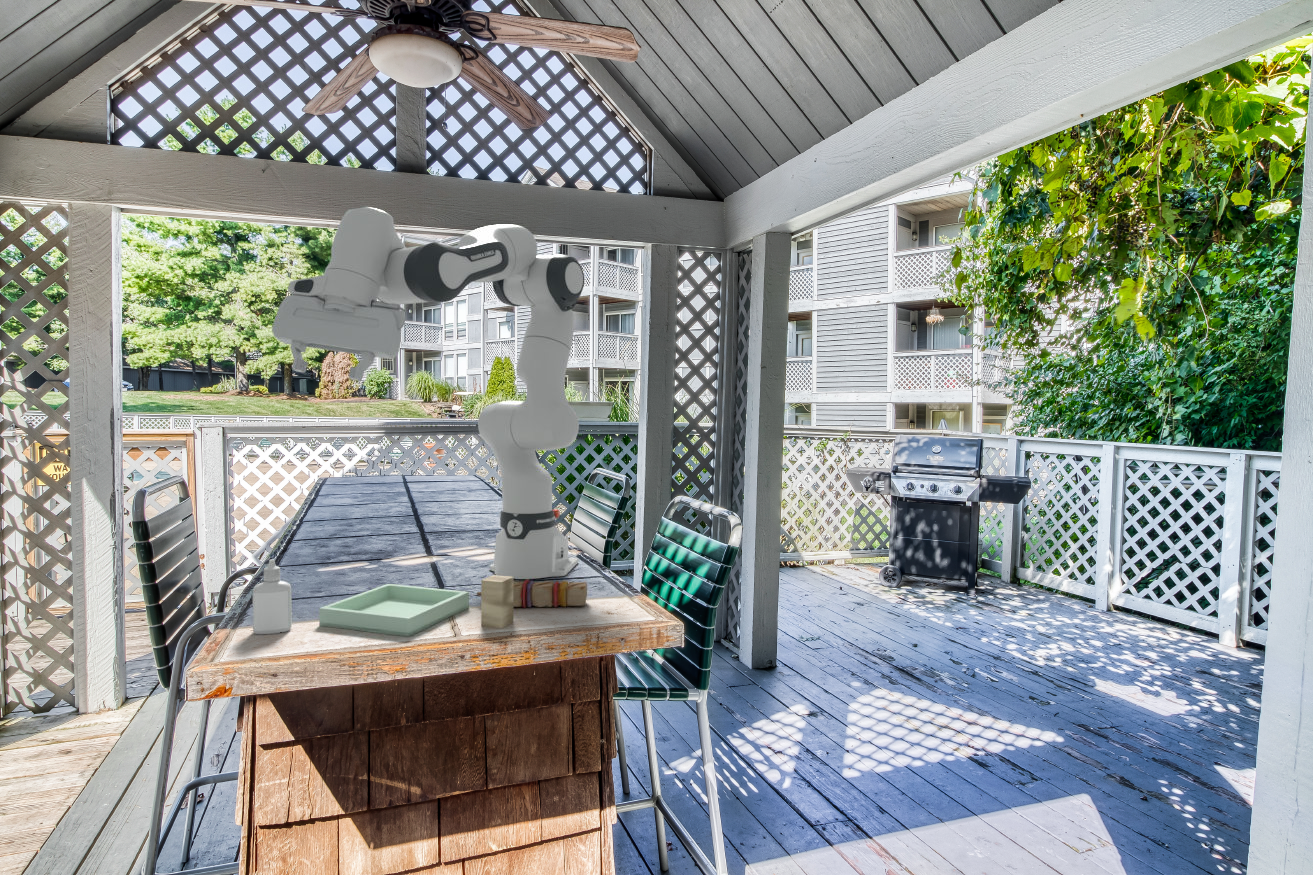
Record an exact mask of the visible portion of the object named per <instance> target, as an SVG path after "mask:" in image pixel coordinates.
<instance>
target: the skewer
mask: <svg viewBox="0 0 1313 875" xmlns="http://www.w3.org/2000/svg"><path fill="white" fill-rule="evenodd" d="M476 596H481V591H480V592H479V591H477V593H476ZM587 597H588V583H587V582H586V581H585V582H583V581H582V582H581V581H577V582H573V581H568V580H567V581H566V580H565V581H563V580H562V581H557V580H556V582H554V581H553V580H545V581H534V580H530V579H524V581H514V580H513V608H514V607H520V608H527V607H528V608H532V606H534V607H537V608H543V607H549V608H550V607H551V608H552V607H554V608H557V607H558V606H559V607H564V608H565V607H574V606H575V607H583V606H586V602H587Z"/></svg>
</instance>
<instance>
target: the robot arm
mask: <svg viewBox="0 0 1313 875" xmlns="http://www.w3.org/2000/svg"><path fill="white" fill-rule="evenodd" d="M394 224H395V223H394V217H393V216H392V215H391V214H389V213H388V212H386V211H384V210H382V209H379V208H376V207H371V206H370V207H369V206H358V207H354V208H350V209H348V210H347V211H346V212H345V213H344V215H343V216H342V218H341V220H340V222H339V224H338V226H337V230H336V232H335V235H334V237H333V241H332V244H331V250H330V252H331V256H330V257H331V258H330V261H329V263H328V265H327V266H326V267H325V270H324V273H323V274H321V275H318V276H313V277H308V278H301V279H300V278H299V279H295V280H291V281H290V282H289V285H288V287H287V290H288V292H289V293H290V294H291V295H288V296H286V297H284V299H283V300H282V301H281V303H280V305H279V307H278V309H277V312H276V314H275V317H274V320H273V324H272V327H271V331H272V334H273V336H274V338H275V339H277V340H278V341H280V342H281V343H283V344H285V345H290V346H289V347H290V350H291V354H292V357H293V363H292V365H291V369H292V371H295V372H298V373H304V374H305V373H306V371H307V368H308V365H309V362H307V361H306V360H304V359H303V353H305V352H306V350H307V348H312V349H319V350H326V351H327V350H328V351H332V352H333V351H334V352H338V353H339V352H340V353H345V354H352V355H358V356H359V355H360V358H361V360H360V361H359V363H357V365H356V366H355V367H354V366H350V369H349V373H348V378H349V379H350V380H351V381H352V380H353V381H359V382H361V381H362V379H363V376H364V373H365V372H366V371H367V370H368V369H369V368H370V367H371V366H372V365H373V364H374V363H375V362H374V361H375V358H380V359H387V360H393V359H394V358H395V357H397V356H398V355H399V351H400V346H401V339H402V328H403V327H404V326H405V323H406V318H407V313H406V310H405V309H404V308H403V307H402V306H401V305H410V304H411V305H412V304H420V303H429V302H430V303H446V302H450V301H453V300H454V299H455V298H456V297H458V296H459V295H460V294H461V293H462V291H464V289H465V288H466V287H467V286H468V285H469V284H471V283H473V282H474V283H492V288H493V291H494V293H495V295H496V297H497V299H498V300H499V302H501V303H502V304H504V305H505V304H506V305H507V306H508V305H509V306H513V307H520V306H522V307H523V306H525V307H530V316H531V317H530V319H529V321H528V324H527V326H526V329H525V332H524V336H523V339H522V344H521V347H520V352H519V355H518V359H517V363H516V374H517V376H518V378H519V379H520V381H521V382H522V383H524V384H525V385H526V398H525V400H502V401H498V402H494V403H491V404H488V405H486V406H485V407H484V408H483V409H482V410H481V412H480V414H479V416H478V421H477V429H478V432H479V435H480V437H481V439H482V440H483V441H484V442H485V443H486V444H487V445H488V446H489V448H490V449H491V451H492V453H493V455H494V457H495V459H496V463H497V465H498V468H499V471H500V478H501V492H502V494H501V495H502V496H501V497H502V498H501V499H502V507H501V508H502V510H501V511H500V516H499V521H500V522H499V523H500V524H499V525H500V528H501V530H500V531H499V532H498V533H497V534H496V536H495V545H494V546H495V547H494V557H493V563H492V564H490V565H489V570H490V571H492V572H494V575H498V576H509V577H513V580H514V579H515V580H527V579H528V580H533V579H534V580H535V579H542V578H550V577H564V576H566V575H568V573H570V572H571V570H572V569H573V568H575V566H576V565H577V564H578V563H579V559H578V558H576V557H573V556H569V540H568V539H567V537H566V536H564V534H563V533H562V532H561V531H560V530H559V529H558V528H557V527H556V524H557V523H556V522H557V521H556V519H558V518H560V512H561V511H560V510H559V509H552V508H553V479H552V476H551V473H550V472H549V471H548V470H547V469H546V468H544V467H543V466H542V464H541V463H540V462H539V460H538V457H537V454H536V451H556V450H559V449H564V448H568V447H570V446H571V445H572V444H573V443H574V442H575V440H576V439H577V436H578V434H579V429H580V423H579V422H580V421H579V418H578V415H577V413H576V412H575V410H574V409H573V408H572V406H571V405H570V403H569V401H568V399H567V395H566V392H565V378H566V372H567V369H568V364H569V357H570V354H571V351H572V350H571V349H572V345H573V339H574V338H573V337H574V329H575V315H574V311H573V310H572V309H574V307H576V305H577V303H578V301H579V299H580V297H581V295H582V292H583V290H584V285H585V274H584V271H583V268H582V266H581V264H580V262H579V261H578V260H577V258H575V257H574V256H571V255H568V254H559V253H557V254H554V255H553V254H543V255H542V254H539V255H538V244H537V241H536V240H537V239H536V238H535V237H534V235H533V233H532V232H531V231H530V230H529V229H527V228H526V227H524V226H521V225H517V224H508V223H507V224H505V223H504V224H493V225H486V226H483V227H479V228H475V229H473V230H472V231H471V230H470V231H469V232H467V233H465V234H464V235H462V236H461V238H460V239H459V241H458V244H457V247H456V246H452V245H450V244H448V243H444V242H442V241H441V242H440V241H434V242H429V243H425V244H422V245H417V246H410V247H409V246H408V247H406V246H405V244H404V243H403V242H402V240H401V238H400V237H399V235H398V233H397V230H396V228H395V225H394Z"/></svg>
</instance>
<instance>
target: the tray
mask: <svg viewBox="0 0 1313 875" xmlns="http://www.w3.org/2000/svg"><path fill="white" fill-rule="evenodd" d="M469 608H470V592H469V591H463V590H453V589H443V588H435V587H434V588H432V587H423V586H413V585H403V584H394V583H387V584H383V585H380V586H377V587H374V588H372V589H370V590H367V591H364V592H360V593H358V594H355V595H353V596H349V597H347V598H344V599H342V600H341V599H340V600H338V601H336V602H333V603H330V604H327V605H324V606H322V607H321V606H320V607H319V608H318V609H319V610H318V615H319V617H318V618H319V619H318V620H319V626H320V627H328V628H336V629H343V630H344V629H345V630H354V631H360V632H369V633H377V634H384V635H393V636H398V637H399V636H401V637H408V638H409V636H410V637H411V636H414V635H416V634H418V633H420V632H421V631H424V630H426V629H428V628H430V627H432V626H434V625H436V624H439V623H440V621H441V622H443V621H445V620H446V619H449V618H451V617H453V616H455V615H457V614H459V613H461V612H463V611H465V610H467V609H469ZM444 619H445V620H444ZM442 620H443V621H442ZM431 625H432V626H431Z"/></svg>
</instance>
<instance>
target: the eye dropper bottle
mask: <svg viewBox="0 0 1313 875" xmlns="http://www.w3.org/2000/svg"><path fill="white" fill-rule="evenodd" d="M268 561H269V562H268V565H267V566H266V567H264V568H263V581H262V582H260V583H258V584H256V585H255V586H254V587H253V589H252V632H253V634H255V635H274V634H275V635H276V634H279V633H280V632H282V633H285V632H289V631H290V630H291V628H292V626H293V622H292V621H293V620H292V615H293V614H292V611H293V610H292V607H293V606H292V586H291V584H290V583H289V582H288V581H284V580H281V567H280V566H278V565H276V562H275V559H269V560H268Z"/></svg>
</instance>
